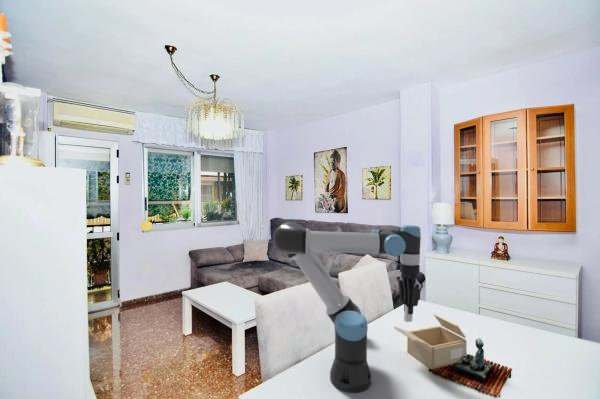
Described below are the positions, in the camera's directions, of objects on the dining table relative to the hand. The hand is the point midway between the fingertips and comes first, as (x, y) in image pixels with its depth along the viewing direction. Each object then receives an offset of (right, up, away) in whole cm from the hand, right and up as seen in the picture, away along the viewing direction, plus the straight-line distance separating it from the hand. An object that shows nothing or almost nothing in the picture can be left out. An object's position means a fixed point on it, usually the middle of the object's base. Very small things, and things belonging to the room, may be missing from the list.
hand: (408, 320), depth 122 cm
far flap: (+23, -8, +8) cm, 25 cm away
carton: (+14, -17, +5) cm, 22 cm away
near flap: (+5, -8, +2) cm, 9 cm away
